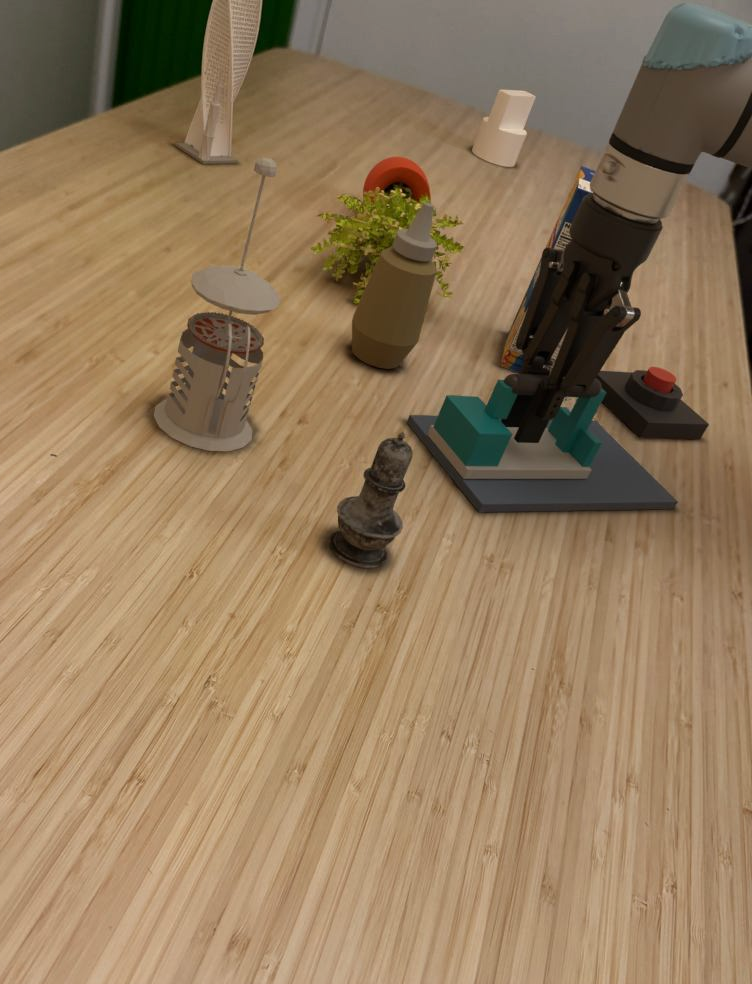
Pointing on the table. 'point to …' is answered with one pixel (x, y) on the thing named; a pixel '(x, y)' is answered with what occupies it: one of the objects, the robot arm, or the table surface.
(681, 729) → the table surface
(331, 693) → the table surface
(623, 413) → the button base
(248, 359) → the french press
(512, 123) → the cylinder with rectangular tab
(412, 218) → the potted plant
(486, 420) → the iron
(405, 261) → the squeeze bottle
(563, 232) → the beverage box
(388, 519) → the salt shaker
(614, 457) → the ironing mat
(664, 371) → the power button
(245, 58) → the skyscraper
